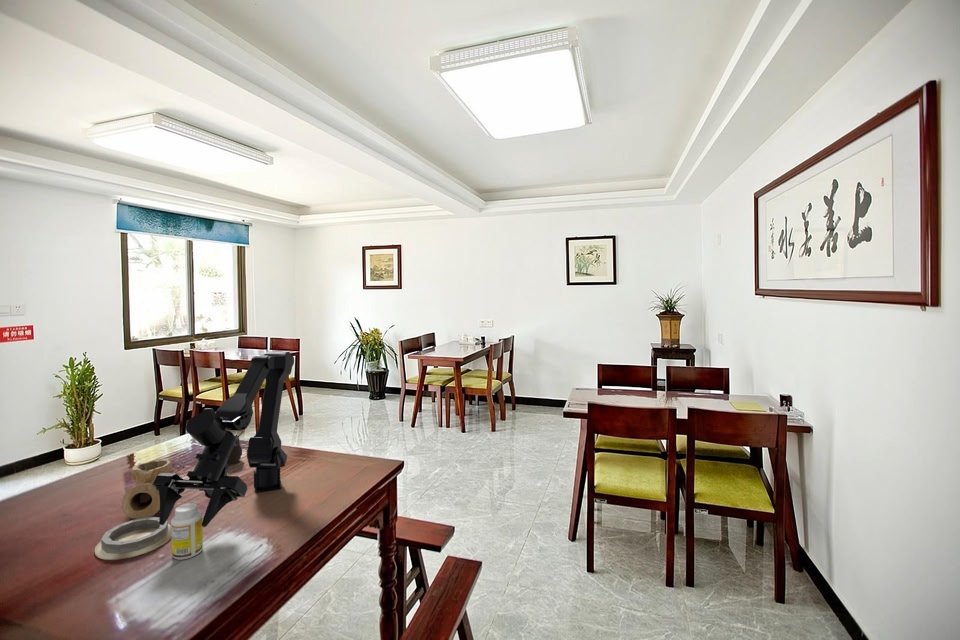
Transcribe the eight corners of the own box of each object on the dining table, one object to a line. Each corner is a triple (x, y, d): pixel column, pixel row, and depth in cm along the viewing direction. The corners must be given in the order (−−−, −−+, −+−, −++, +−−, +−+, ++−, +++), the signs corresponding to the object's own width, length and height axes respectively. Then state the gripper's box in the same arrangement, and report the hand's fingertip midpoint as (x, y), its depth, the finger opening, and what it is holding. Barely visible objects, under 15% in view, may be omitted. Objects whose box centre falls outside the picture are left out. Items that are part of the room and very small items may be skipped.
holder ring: (178, 520, 109) (178, 509, 109) (167, 550, 96) (167, 538, 96) (106, 532, 103) (106, 521, 103) (84, 566, 90) (84, 554, 90)
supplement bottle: (197, 543, 99) (196, 498, 99) (206, 552, 96) (205, 506, 95) (168, 553, 95) (167, 507, 95) (176, 564, 92) (175, 516, 91)
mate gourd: (214, 461, 146) (214, 431, 146) (239, 456, 151) (239, 427, 151) (219, 468, 141) (219, 437, 140) (246, 462, 146) (246, 432, 145)
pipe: (118, 524, 106) (117, 484, 106) (136, 496, 121) (135, 460, 120) (164, 517, 110) (163, 478, 110) (176, 490, 125) (175, 455, 124)
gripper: (267, 471, 110) (241, 539, 99) (193, 468, 111) (160, 535, 100) (248, 451, 101) (218, 522, 91) (169, 447, 102) (130, 518, 92)
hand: (182, 525), depth 94 cm, fingers open, 9 cm apart
